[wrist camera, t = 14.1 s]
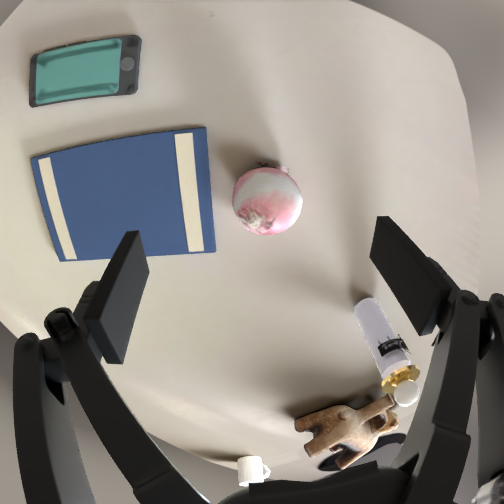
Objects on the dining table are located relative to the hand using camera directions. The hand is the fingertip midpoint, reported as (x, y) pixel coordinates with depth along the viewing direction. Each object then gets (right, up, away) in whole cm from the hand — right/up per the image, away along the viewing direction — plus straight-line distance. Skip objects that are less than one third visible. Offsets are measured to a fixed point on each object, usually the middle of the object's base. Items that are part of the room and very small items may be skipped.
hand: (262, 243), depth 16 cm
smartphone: (-20, +21, +10) cm, 31 cm away
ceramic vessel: (+27, -45, +55) cm, 76 cm away
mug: (0, -70, +67) cm, 97 cm away
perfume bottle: (+18, -9, +32) cm, 38 cm away
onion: (+1, +7, +20) cm, 21 cm away
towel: (-17, +6, +19) cm, 26 cm away
